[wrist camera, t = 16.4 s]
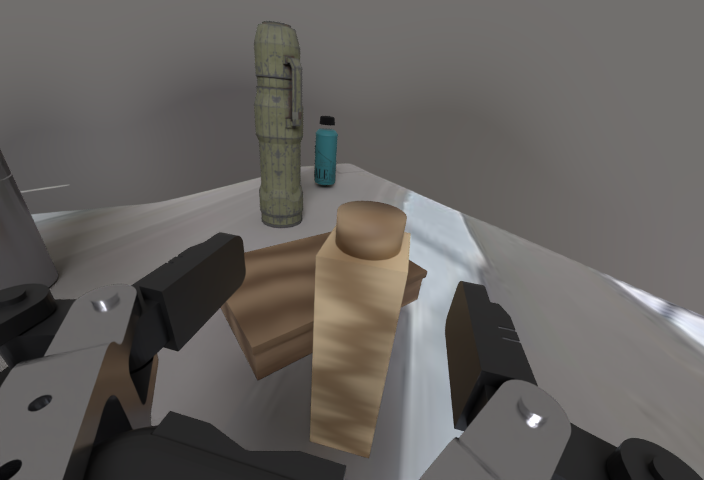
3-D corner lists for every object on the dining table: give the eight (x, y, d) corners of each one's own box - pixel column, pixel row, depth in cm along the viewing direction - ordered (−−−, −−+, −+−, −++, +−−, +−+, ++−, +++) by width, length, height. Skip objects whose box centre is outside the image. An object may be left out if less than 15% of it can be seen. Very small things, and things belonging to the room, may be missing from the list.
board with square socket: (210, 293, 39) (201, 241, 35) (352, 250, 53) (355, 210, 50) (257, 387, 28) (251, 325, 24) (422, 301, 42) (434, 253, 38)
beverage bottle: (334, 184, 90) (338, 116, 81) (335, 190, 85) (340, 118, 76) (313, 183, 90) (315, 114, 80) (313, 189, 84) (315, 116, 75)
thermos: (280, 207, 69) (274, 31, 53) (315, 222, 63) (321, 29, 47) (248, 216, 63) (231, 20, 47) (284, 234, 57) (278, 15, 41)
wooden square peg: (309, 441, 24) (317, 222, 15) (326, 388, 28) (340, 194, 19) (368, 458, 23) (415, 238, 14) (376, 400, 27) (415, 205, 18)
